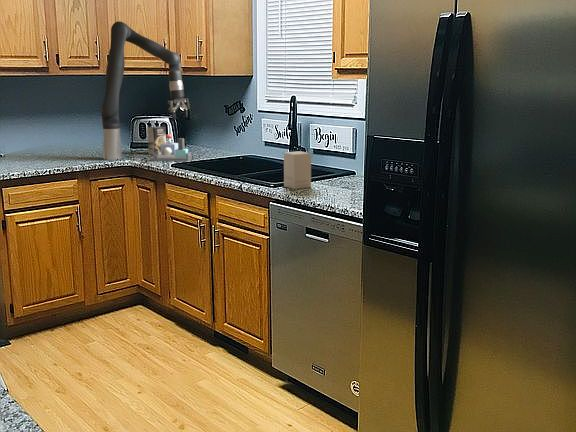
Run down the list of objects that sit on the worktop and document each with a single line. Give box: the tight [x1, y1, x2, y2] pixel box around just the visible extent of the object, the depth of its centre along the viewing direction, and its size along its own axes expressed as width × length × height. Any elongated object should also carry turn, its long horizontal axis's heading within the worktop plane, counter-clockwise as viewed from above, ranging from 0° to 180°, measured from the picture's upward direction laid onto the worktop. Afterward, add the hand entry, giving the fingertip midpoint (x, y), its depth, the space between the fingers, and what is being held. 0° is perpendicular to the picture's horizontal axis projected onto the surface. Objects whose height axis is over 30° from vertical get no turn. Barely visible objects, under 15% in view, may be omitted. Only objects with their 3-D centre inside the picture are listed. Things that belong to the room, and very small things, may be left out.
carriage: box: [175, 137, 189, 158], centre depth 352 cm, size 6×5×10 cm
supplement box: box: [283, 150, 312, 190], centre depth 275 cm, size 9×9×15 cm
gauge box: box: [160, 142, 178, 155], centre depth 364 cm, size 8×8×8 cm
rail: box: [152, 151, 192, 162], centre depth 354 cm, size 20×6×4 cm, turn 82°
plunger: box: [166, 133, 173, 144], centre depth 363 cm, size 3×3×6 cm
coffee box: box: [147, 126, 167, 156], centre depth 378 cm, size 9×6×16 cm
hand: (180, 118), depth 358 cm, fingers open, 8 cm apart
